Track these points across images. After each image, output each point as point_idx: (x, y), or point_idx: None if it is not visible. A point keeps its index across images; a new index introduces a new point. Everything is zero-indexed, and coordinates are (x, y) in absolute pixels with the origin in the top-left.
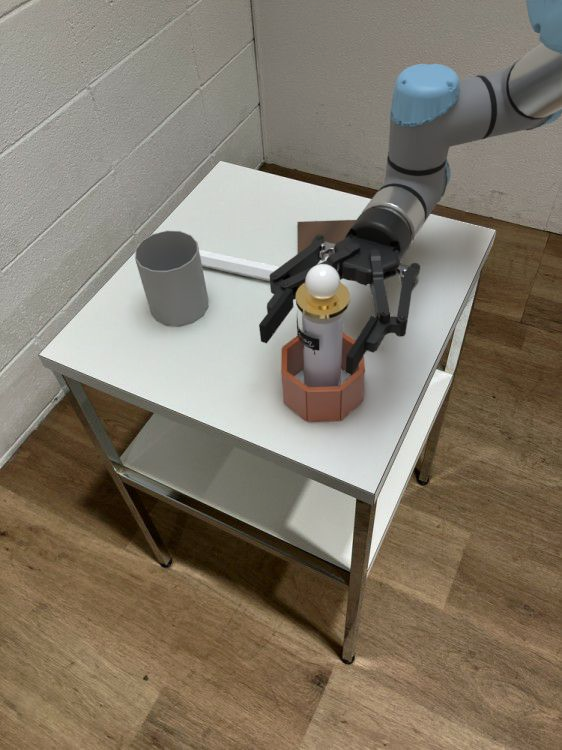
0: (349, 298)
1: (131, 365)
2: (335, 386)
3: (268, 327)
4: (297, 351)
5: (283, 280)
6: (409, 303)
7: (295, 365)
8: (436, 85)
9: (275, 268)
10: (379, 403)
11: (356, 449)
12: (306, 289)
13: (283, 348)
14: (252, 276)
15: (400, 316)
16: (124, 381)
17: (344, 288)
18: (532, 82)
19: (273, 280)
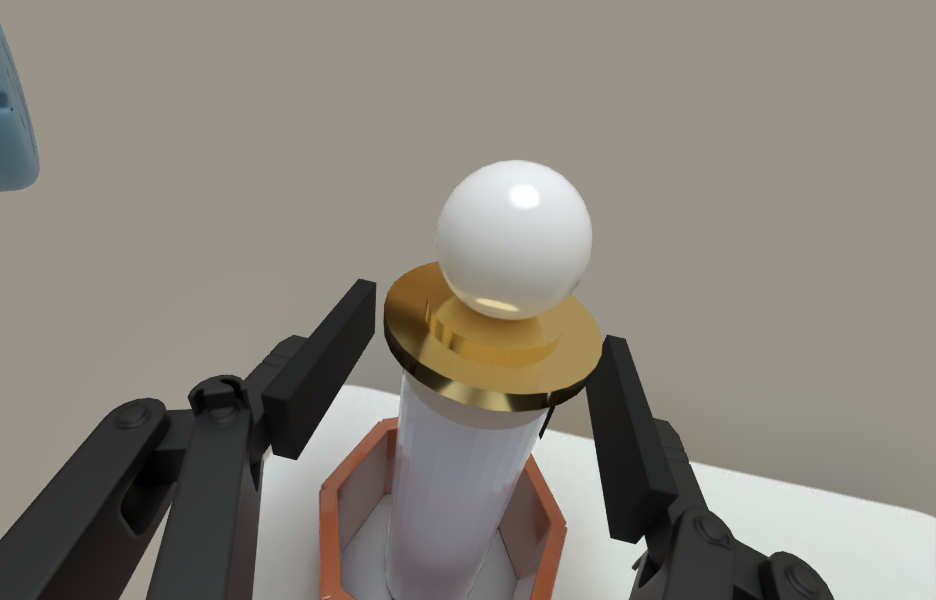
0: (385, 306)
1: (822, 532)
2: (396, 428)
3: (603, 359)
4: (528, 582)
5: (746, 589)
6: (19, 522)
7: (518, 592)
8: None
9: None
10: (281, 559)
11: (343, 433)
12: (569, 331)
13: (561, 521)
14: None
15: (142, 415)
16: (786, 491)
17: (415, 345)
18: None
19: (774, 553)
